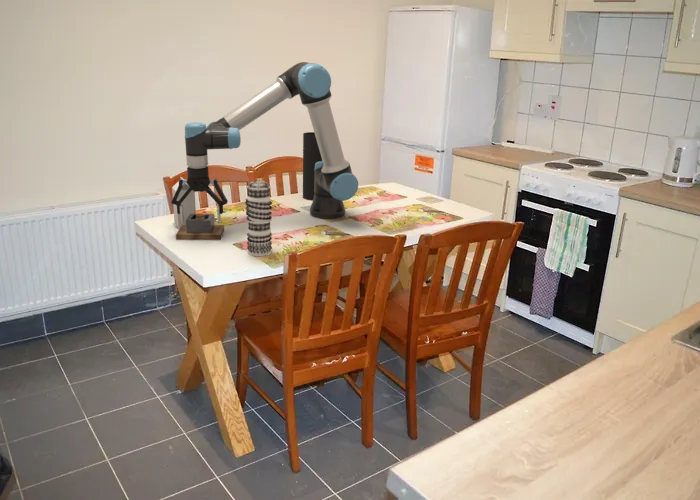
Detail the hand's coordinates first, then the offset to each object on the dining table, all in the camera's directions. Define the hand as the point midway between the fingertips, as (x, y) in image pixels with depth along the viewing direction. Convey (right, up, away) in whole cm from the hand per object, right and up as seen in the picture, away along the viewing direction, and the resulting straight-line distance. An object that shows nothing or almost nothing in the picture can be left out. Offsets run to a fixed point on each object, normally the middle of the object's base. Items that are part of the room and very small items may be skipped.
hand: (200, 222), depth 228 cm
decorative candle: (+24, -11, -14) cm, 30 cm away
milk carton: (-9, -1, +12) cm, 15 cm away
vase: (+39, +14, +60) cm, 72 cm away
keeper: (0, -5, +2) cm, 5 cm away
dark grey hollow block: (0, -3, +1) cm, 3 cm away
